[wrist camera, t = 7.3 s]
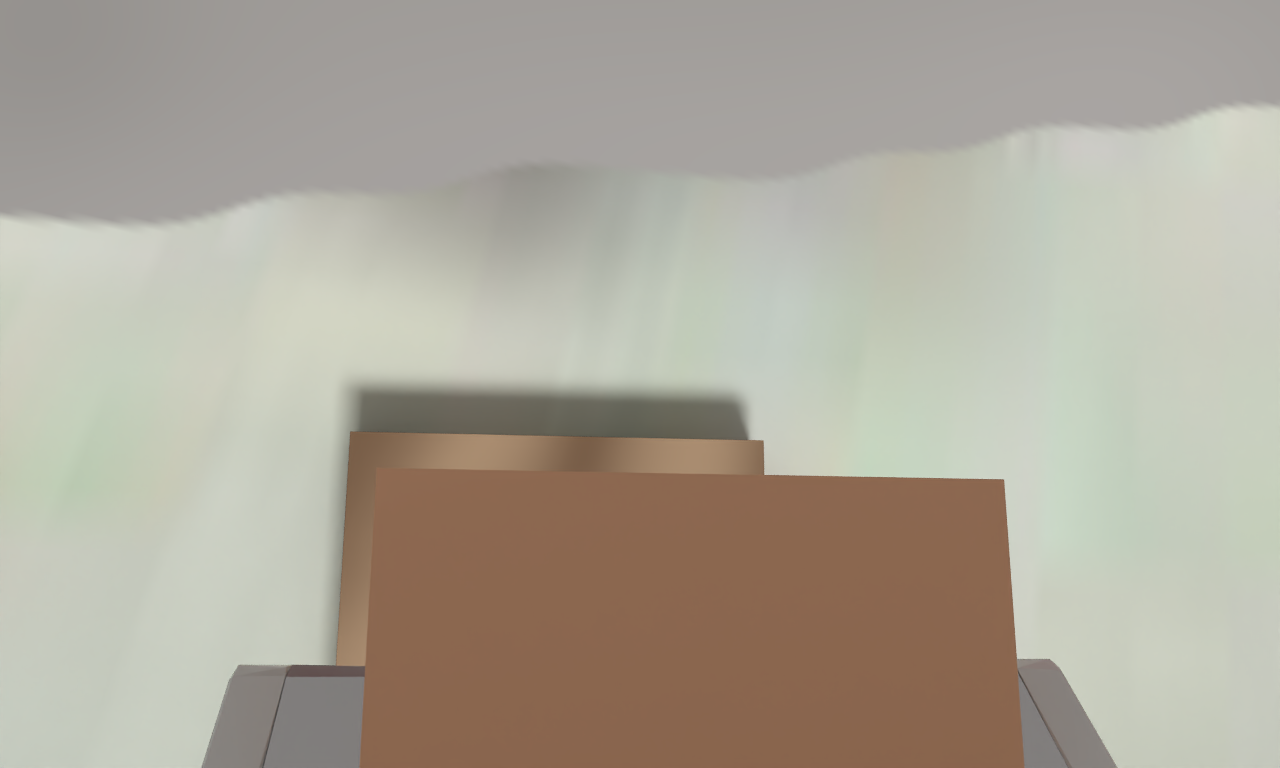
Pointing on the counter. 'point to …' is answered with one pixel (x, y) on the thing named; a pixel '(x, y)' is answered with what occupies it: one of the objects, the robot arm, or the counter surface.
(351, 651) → the switch
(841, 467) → the counter surface
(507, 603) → the orange rectangular block
